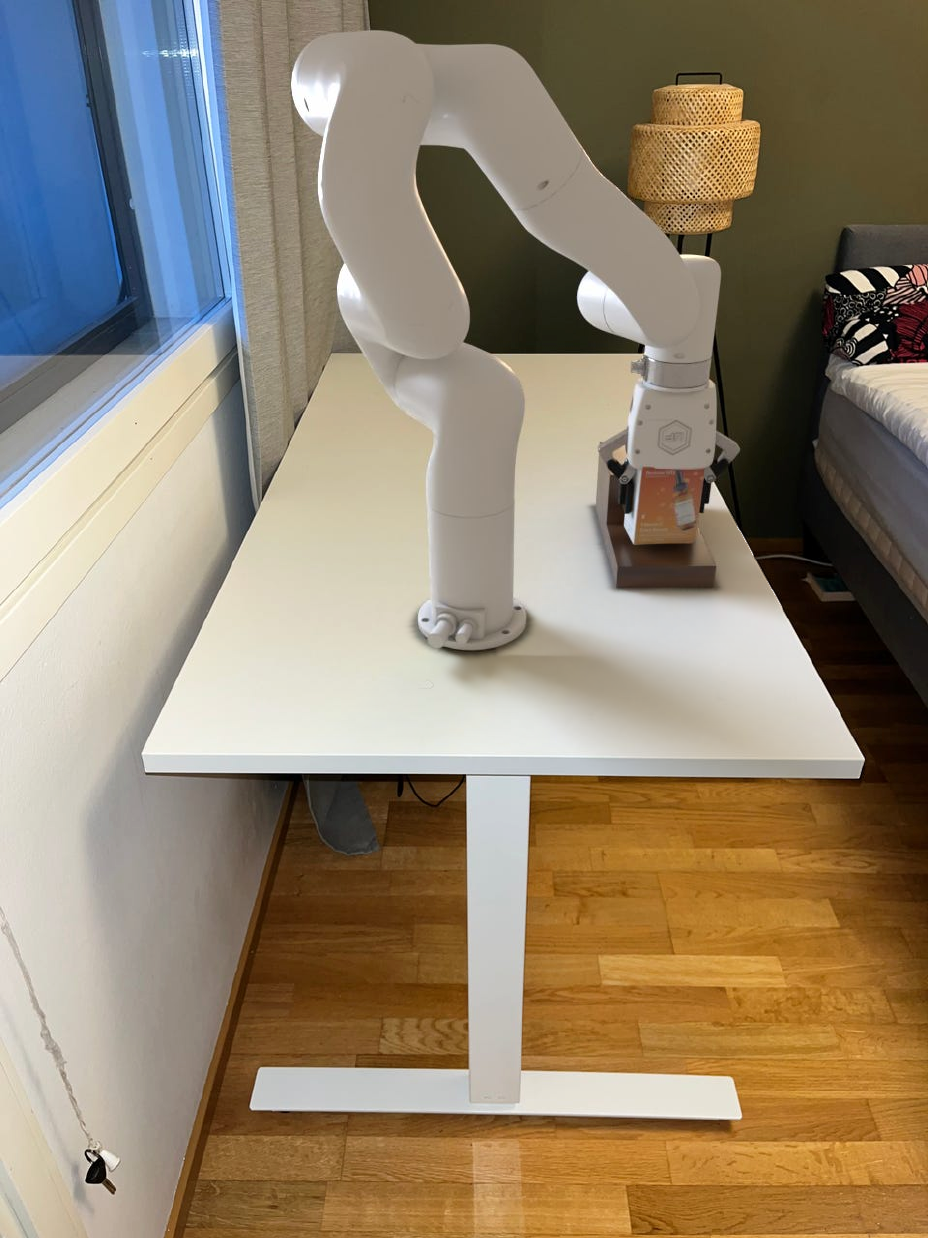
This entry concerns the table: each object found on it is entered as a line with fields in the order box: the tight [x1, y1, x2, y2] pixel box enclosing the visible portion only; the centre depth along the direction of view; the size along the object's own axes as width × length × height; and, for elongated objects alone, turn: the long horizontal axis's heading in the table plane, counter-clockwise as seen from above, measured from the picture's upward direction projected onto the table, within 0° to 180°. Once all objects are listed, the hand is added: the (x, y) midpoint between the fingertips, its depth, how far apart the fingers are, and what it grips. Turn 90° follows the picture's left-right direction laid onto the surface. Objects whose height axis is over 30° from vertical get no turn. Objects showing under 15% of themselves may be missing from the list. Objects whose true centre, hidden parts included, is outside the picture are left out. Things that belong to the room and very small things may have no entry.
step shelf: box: [595, 441, 717, 589], centre depth 125 cm, size 24×12×10 cm, turn 179°
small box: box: [624, 467, 705, 545], centre depth 117 cm, size 8×6×10 cm
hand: (662, 508), depth 118 cm, fingers closed on small box, 8 cm apart
